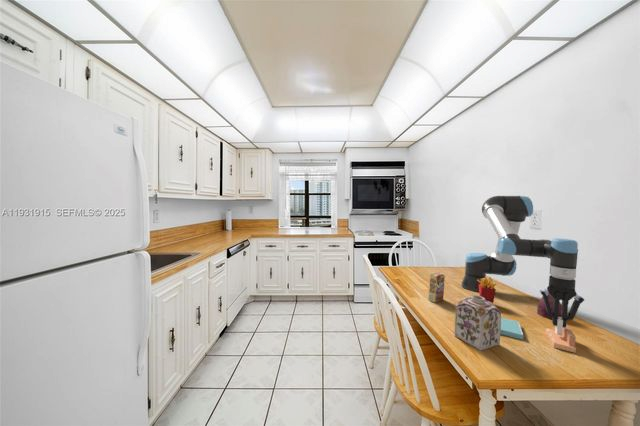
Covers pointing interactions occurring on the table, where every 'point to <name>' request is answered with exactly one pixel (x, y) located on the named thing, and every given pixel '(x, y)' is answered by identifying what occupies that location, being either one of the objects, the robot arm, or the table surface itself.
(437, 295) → the candy box
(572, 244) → the robot arm
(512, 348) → the table surface
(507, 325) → the ticket
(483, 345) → the decorative jar
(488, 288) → the french fries
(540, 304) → the vegetable
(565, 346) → the stub
